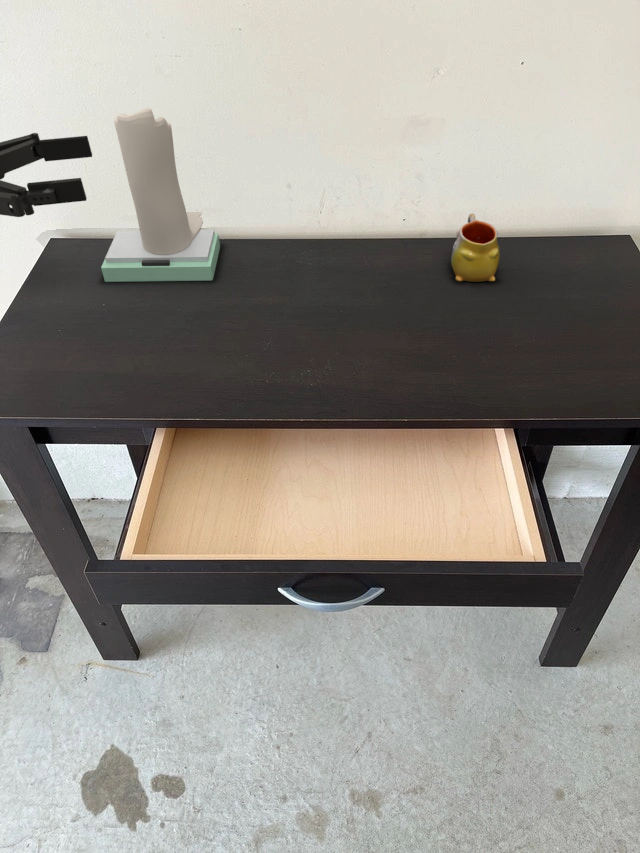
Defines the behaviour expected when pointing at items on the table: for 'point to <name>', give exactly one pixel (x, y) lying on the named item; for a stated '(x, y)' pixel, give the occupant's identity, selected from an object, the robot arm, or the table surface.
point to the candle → (155, 183)
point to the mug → (475, 252)
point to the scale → (160, 259)
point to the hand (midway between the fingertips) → (87, 166)
